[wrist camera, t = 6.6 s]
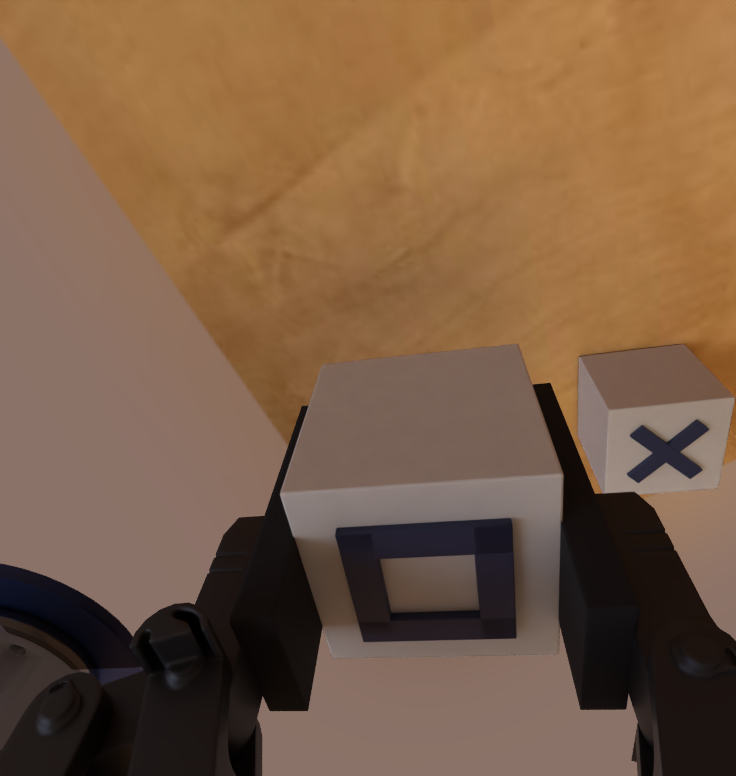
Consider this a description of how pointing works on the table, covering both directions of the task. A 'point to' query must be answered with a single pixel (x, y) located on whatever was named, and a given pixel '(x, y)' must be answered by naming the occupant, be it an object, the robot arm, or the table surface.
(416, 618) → the tile
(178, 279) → the table surface
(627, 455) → the tile
